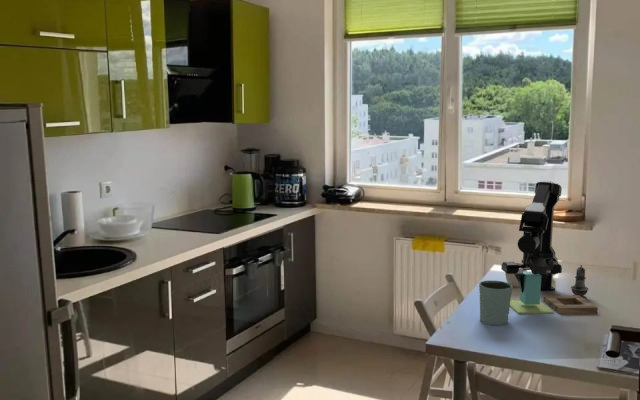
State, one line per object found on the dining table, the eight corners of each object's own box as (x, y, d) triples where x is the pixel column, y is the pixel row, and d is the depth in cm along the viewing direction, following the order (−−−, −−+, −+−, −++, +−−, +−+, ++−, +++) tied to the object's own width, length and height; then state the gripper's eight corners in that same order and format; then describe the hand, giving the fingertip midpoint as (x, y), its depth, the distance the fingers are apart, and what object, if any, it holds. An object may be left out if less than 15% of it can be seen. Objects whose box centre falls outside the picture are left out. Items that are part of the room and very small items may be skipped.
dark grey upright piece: (584, 295, 229) (587, 263, 227) (590, 300, 223) (592, 267, 221) (568, 294, 229) (570, 262, 227) (572, 299, 223) (575, 266, 222)
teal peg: (519, 299, 217) (521, 271, 215) (533, 299, 217) (535, 271, 216) (524, 304, 212) (526, 275, 211) (539, 304, 212) (541, 275, 211)
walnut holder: (543, 301, 222) (543, 295, 222) (579, 300, 223) (579, 295, 222) (558, 313, 209) (559, 307, 209) (597, 313, 210) (597, 307, 209)
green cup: (474, 323, 200) (475, 286, 198) (481, 313, 209) (483, 278, 207) (506, 328, 196) (508, 290, 194) (513, 318, 204) (515, 282, 203)
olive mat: (505, 302, 221) (505, 300, 221) (539, 301, 221) (539, 300, 221) (518, 313, 209) (518, 312, 209) (553, 313, 209) (553, 311, 209)
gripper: (513, 253, 203) (511, 300, 206) (570, 252, 204) (567, 299, 207) (501, 245, 214) (499, 289, 217) (556, 244, 215) (553, 288, 218)
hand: (529, 292), depth 214 cm, fingers closed on teal peg, 5 cm apart
